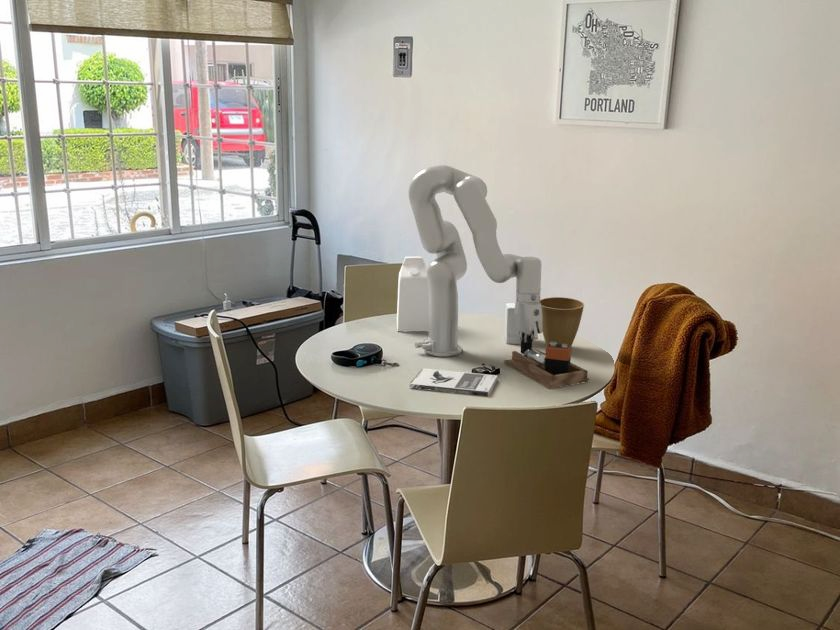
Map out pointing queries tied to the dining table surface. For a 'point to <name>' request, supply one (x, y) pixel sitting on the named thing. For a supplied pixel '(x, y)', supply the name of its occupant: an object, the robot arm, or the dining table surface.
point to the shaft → (535, 356)
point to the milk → (413, 296)
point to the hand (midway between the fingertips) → (526, 353)
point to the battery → (557, 358)
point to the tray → (542, 376)
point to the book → (454, 382)
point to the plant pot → (560, 319)
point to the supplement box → (510, 325)
